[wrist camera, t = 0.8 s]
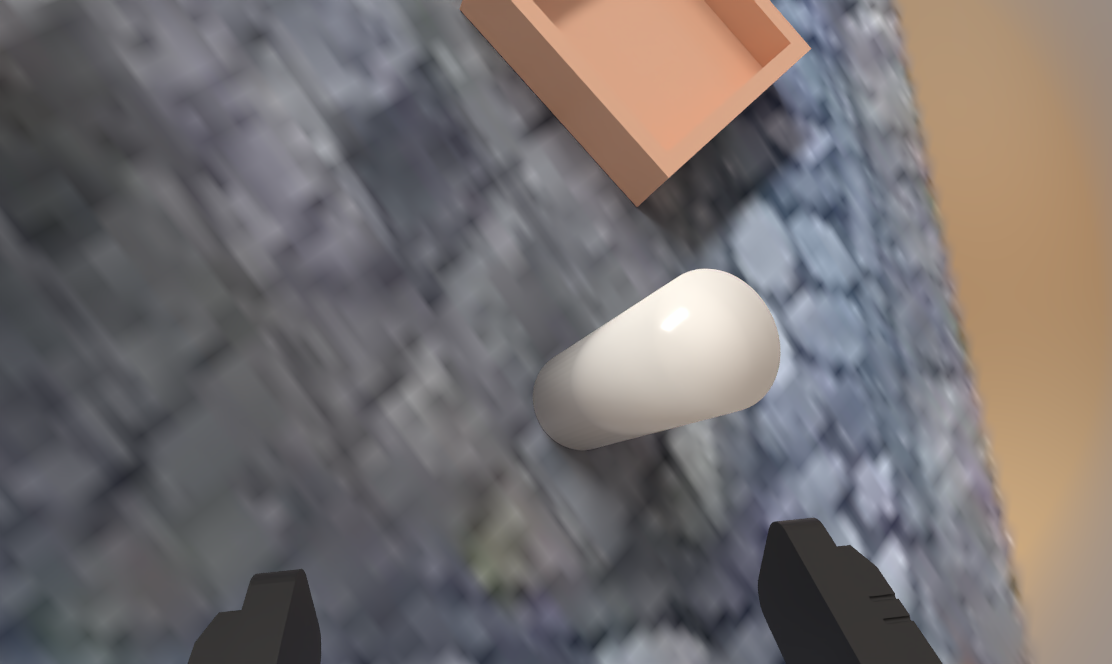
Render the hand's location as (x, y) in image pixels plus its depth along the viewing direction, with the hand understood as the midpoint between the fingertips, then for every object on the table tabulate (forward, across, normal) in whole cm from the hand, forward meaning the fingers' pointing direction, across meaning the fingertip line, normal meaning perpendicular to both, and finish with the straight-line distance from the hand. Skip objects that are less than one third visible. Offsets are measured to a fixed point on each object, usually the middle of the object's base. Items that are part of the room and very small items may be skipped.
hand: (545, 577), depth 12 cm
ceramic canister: (+19, -4, +10) cm, 21 cm away
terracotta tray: (+34, -9, -4) cm, 35 cm away
